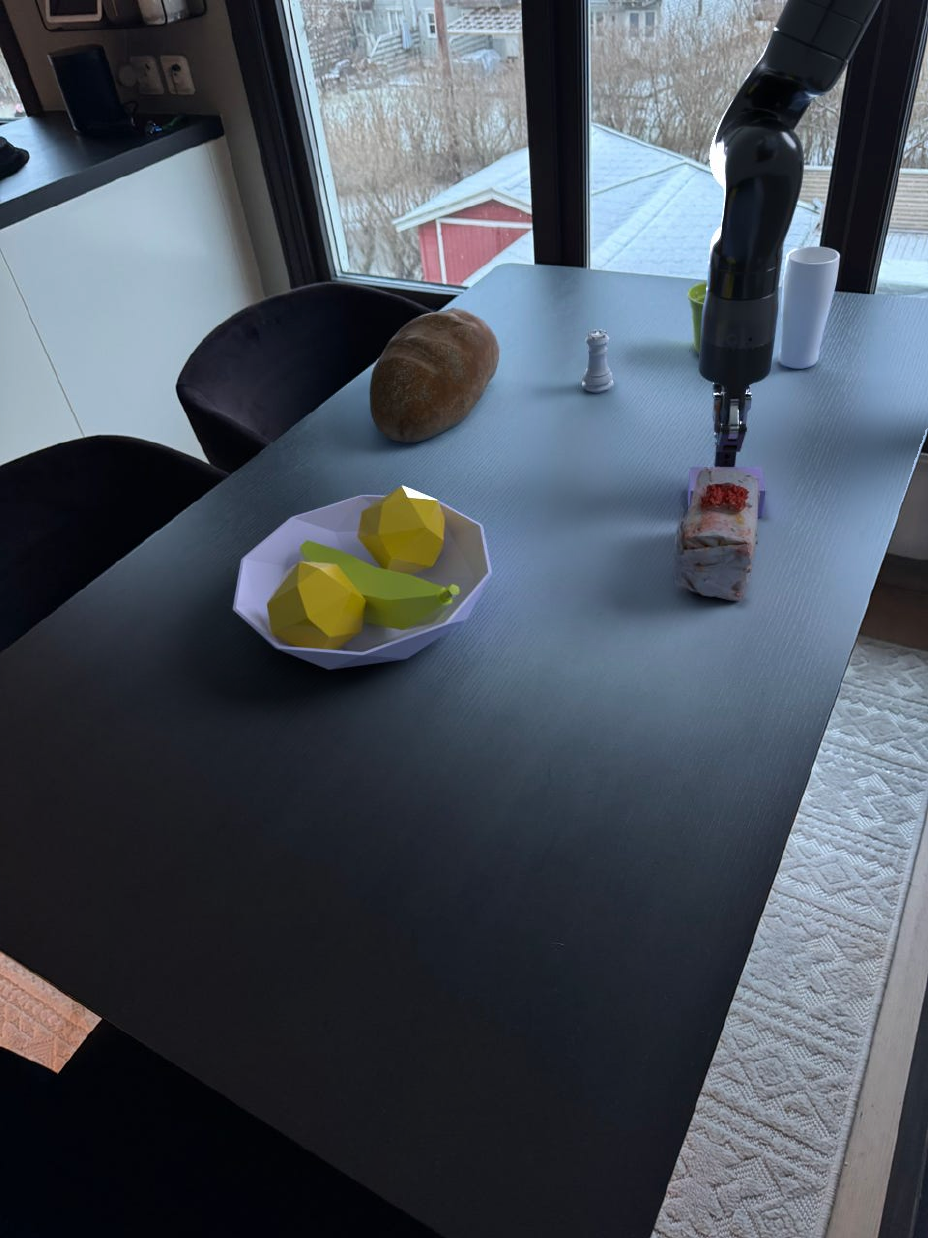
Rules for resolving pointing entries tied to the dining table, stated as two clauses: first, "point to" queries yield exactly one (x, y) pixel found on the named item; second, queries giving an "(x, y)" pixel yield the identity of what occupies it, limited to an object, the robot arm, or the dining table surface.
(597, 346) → the rook chess piece
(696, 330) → the plant pot
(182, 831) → the dining table surface
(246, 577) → the fruit bowl
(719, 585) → the food item
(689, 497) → the lavender block
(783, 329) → the drinking glass
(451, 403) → the bread
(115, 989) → the dining table surface
